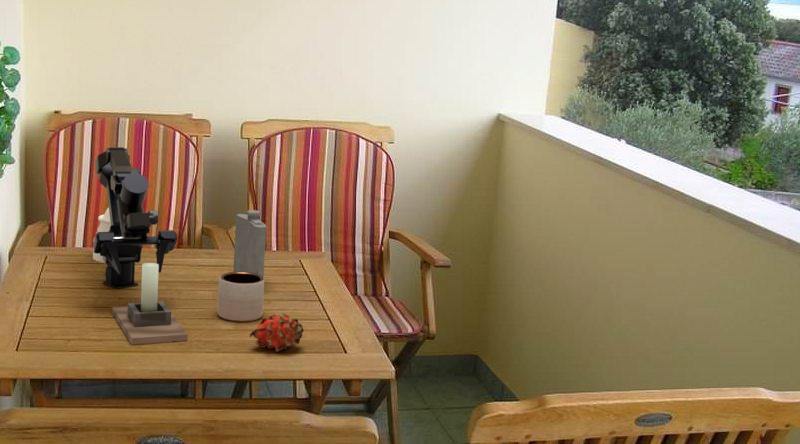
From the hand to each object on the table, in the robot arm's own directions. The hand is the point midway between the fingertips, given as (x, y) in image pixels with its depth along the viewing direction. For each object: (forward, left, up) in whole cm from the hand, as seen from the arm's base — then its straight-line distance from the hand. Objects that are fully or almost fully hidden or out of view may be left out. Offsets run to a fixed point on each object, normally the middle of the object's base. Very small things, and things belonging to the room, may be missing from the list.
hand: (140, 272), depth 221 cm
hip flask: (-38, -4, -10) cm, 40 cm away
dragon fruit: (-9, +37, -10) cm, 39 cm away
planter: (-18, +15, -10) cm, 26 cm away
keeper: (+4, +9, -10) cm, 14 cm away
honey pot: (-24, -44, -10) cm, 52 cm away
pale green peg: (+4, +9, -8) cm, 13 cm away
